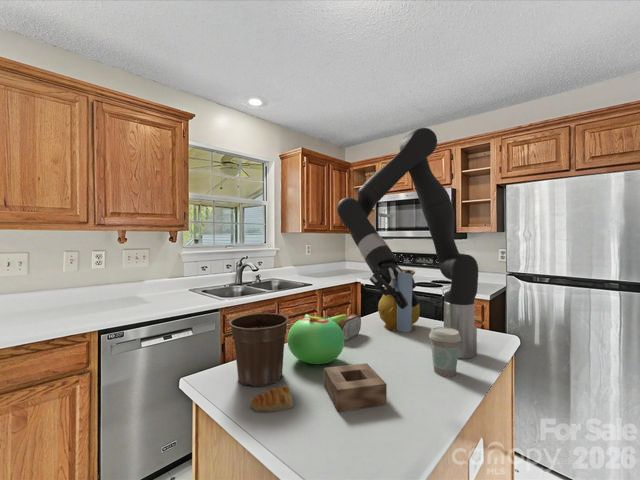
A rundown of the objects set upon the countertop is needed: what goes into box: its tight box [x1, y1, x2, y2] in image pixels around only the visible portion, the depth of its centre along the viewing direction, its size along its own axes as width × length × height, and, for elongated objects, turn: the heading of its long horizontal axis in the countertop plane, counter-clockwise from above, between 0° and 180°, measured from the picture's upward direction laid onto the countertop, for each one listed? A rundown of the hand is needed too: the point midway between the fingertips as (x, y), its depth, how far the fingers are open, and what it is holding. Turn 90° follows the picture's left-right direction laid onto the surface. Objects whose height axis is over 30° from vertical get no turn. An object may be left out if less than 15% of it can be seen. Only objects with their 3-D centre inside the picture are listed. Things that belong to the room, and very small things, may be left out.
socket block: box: [323, 362, 388, 413], centre depth 78 cm, size 12×12×5 cm
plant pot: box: [228, 312, 289, 387], centre depth 89 cm, size 16×16×16 cm
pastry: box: [250, 385, 294, 413], centre depth 74 cm, size 9×7×4 cm
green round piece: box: [286, 313, 348, 365], centre depth 100 cm, size 18×17×15 cm
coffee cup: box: [428, 326, 461, 377], centre depth 91 cm, size 8×8×12 cm
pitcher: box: [377, 268, 421, 332], centre depth 134 cm, size 17×19×25 cm
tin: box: [337, 313, 362, 342], centre depth 121 cm, size 15×3×8 cm, turn 144°
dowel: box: [397, 273, 414, 333], centre depth 79 cm, size 4×4×14 cm
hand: (410, 305), depth 78 cm, fingers closed on dowel, 3 cm apart
